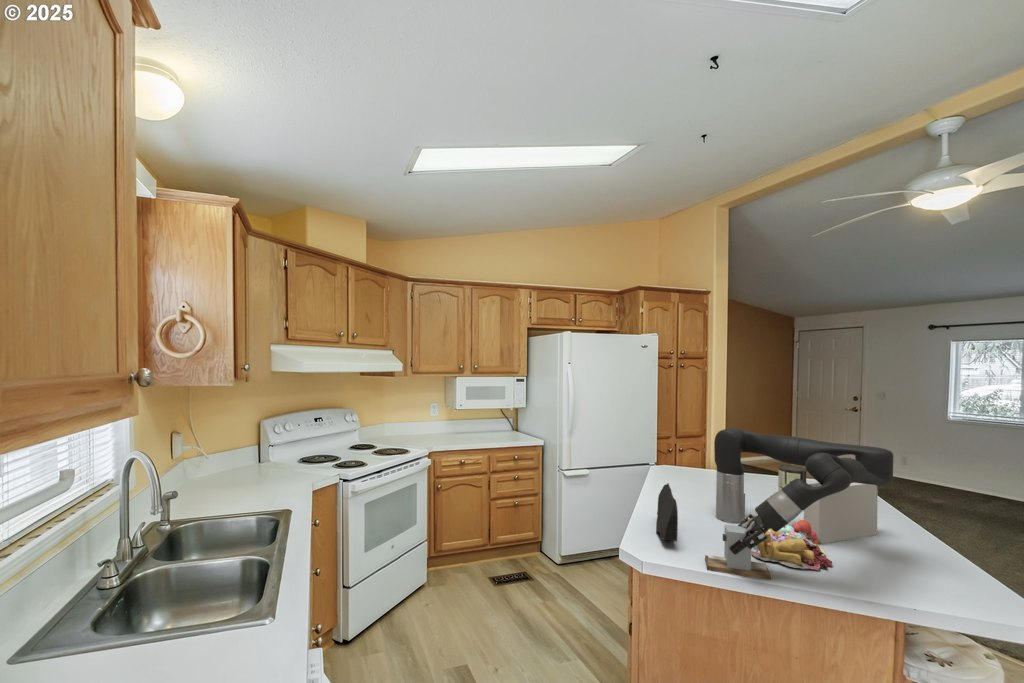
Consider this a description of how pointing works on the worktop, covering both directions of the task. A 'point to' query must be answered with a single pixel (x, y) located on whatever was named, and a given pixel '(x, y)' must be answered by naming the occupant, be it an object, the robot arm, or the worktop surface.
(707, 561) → the DIN rail board
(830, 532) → the rounded-edge off-white block
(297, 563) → the worktop surface
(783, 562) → the candy landscape model
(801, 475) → the coffee can
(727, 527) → the breaker module
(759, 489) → the worktop surface
